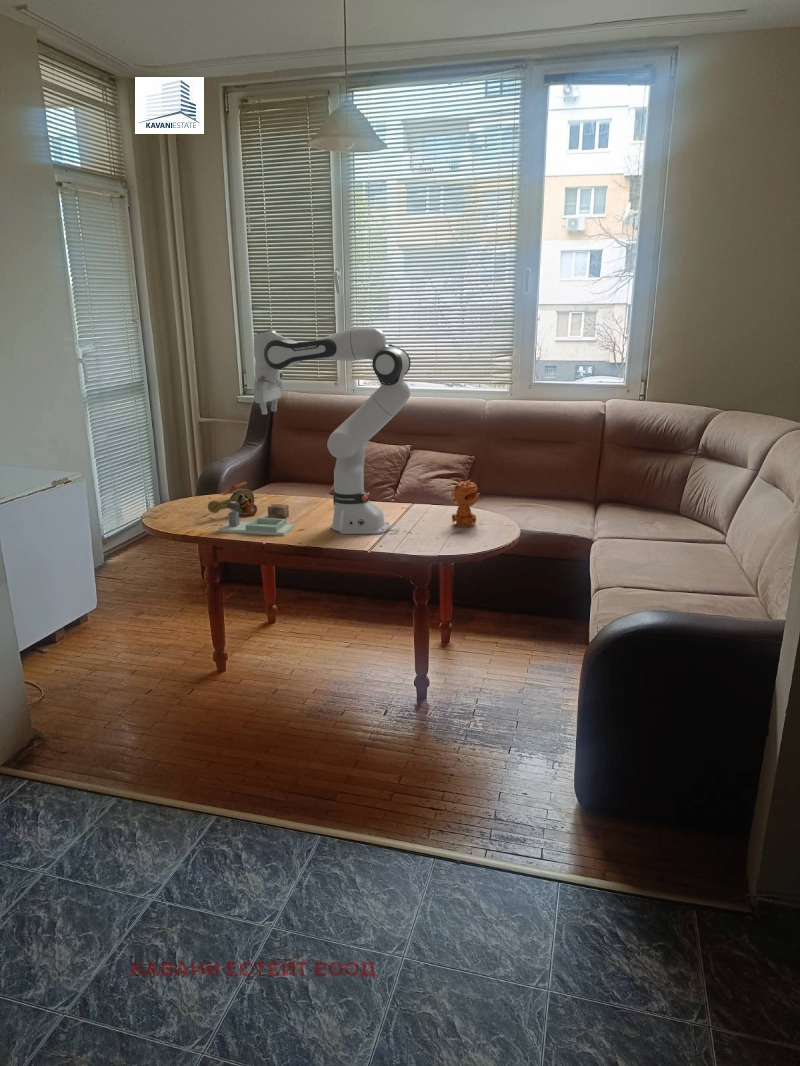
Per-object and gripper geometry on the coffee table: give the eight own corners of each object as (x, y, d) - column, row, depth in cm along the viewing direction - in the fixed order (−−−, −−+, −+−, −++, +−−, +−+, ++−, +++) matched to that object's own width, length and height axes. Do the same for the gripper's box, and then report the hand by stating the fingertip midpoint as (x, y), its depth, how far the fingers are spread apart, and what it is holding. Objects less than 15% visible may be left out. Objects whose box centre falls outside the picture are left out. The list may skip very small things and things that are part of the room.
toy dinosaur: (479, 529, 272) (481, 482, 267) (450, 528, 273) (451, 482, 268) (478, 521, 283) (479, 476, 278) (450, 520, 284) (451, 476, 278)
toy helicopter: (260, 514, 294) (258, 481, 290) (215, 524, 280) (212, 489, 276) (248, 510, 299) (246, 478, 295) (204, 520, 285) (201, 486, 281)
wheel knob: (241, 514, 274) (240, 500, 272) (236, 517, 270) (235, 503, 268) (230, 514, 275) (229, 500, 273) (225, 517, 271) (224, 503, 269)
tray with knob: (294, 527, 275) (293, 511, 273) (284, 535, 264) (283, 519, 263) (230, 523, 280) (229, 508, 278) (218, 531, 269) (217, 516, 268)
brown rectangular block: (288, 516, 290) (288, 504, 289) (284, 519, 286) (284, 507, 284) (272, 515, 292) (271, 503, 290) (268, 518, 287) (267, 506, 286)
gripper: (264, 377, 256) (267, 416, 260) (284, 373, 275) (286, 409, 279) (248, 377, 257) (250, 416, 261) (269, 373, 276) (271, 409, 280)
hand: (269, 412), depth 270 cm, fingers open, 8 cm apart
